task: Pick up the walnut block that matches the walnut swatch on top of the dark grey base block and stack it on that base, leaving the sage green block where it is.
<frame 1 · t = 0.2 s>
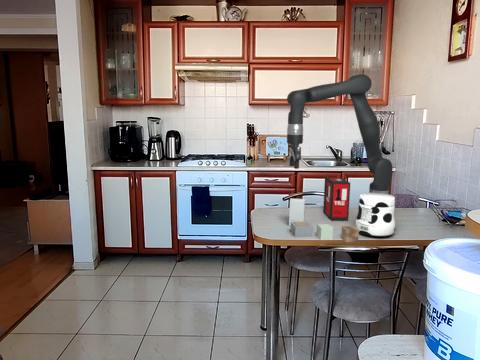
hand: (294, 167, 190), 29 cm above the table, tool pointing down, fingers open, 8 cm apart
supplement box: (296, 225, 196), on the table
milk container: (374, 234, 183), on the table
cleaning product box: (335, 217, 212), on the table
sage green block: (324, 237, 176), on the table
walnut block: (349, 240, 174), on the table
grey base block: (301, 234, 181), on the table
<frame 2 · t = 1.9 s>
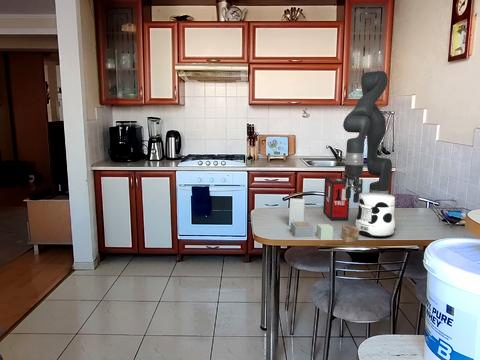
hand: (351, 200, 171), 18 cm above the table, tool pointing down, fingers open, 8 cm apart
nothing on the table moved.
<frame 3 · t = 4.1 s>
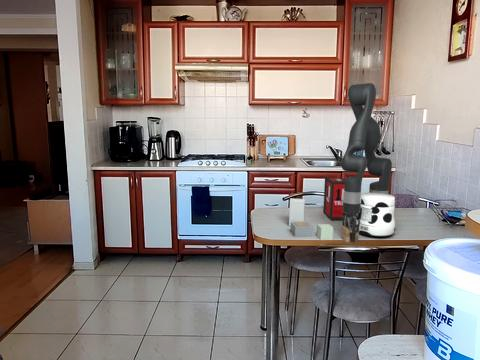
hand: (349, 238, 174), 1 cm above the table, tool pointing down, fingers closed on walnut block, 5 cm apart
walnut block: (349, 239, 174), on the table, touching gripper
everything else where it was.
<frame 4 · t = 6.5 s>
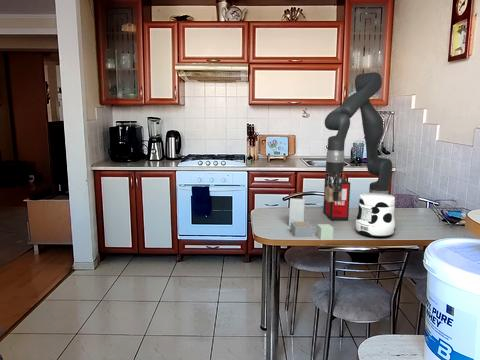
hand: (332, 198, 173), 18 cm above the table, tool pointing down, fingers closed on walnut block, 5 cm apart
walnut block: (332, 200, 173), point 17 cm above the table, touching gripper
everything else where it was.
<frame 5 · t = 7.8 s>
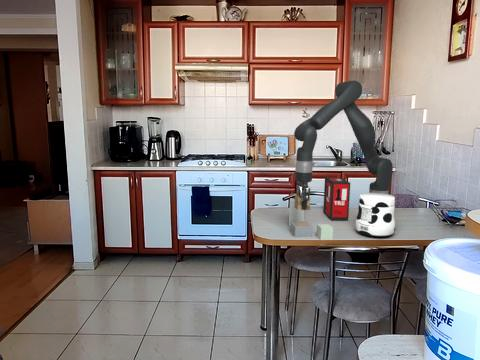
hand: (302, 207, 179), 13 cm above the table, tool pointing down, fingers closed on walnut block, 5 cm apart
walnut block: (302, 208, 179), point 12 cm above the table, touching gripper
everything else where it was.
when the fingers open (7 cm above the table, at t = 9.0 s): walnut block drops 2 cm, resting on grey base block.
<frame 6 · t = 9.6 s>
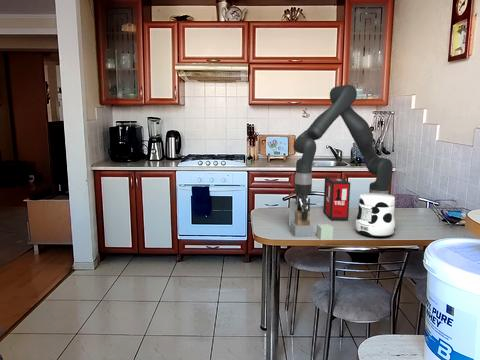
hand: (301, 217, 180), 8 cm above the table, tool pointing down, fingers open, 8 cm apart
walnut block: (301, 223, 180), point 5 cm above the table, touching grey base block
grey base block: (301, 234, 181), on the table, touching walnut block
everything else where it was.
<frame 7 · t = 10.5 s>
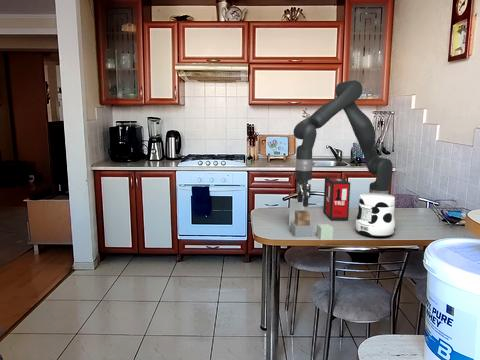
hand: (302, 204, 179), 14 cm above the table, tool pointing down, fingers open, 8 cm apart
nothing on the table moved.
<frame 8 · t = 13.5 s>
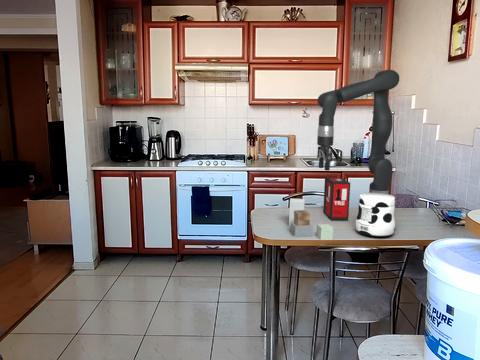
hand: (323, 169, 191), 28 cm above the table, tool pointing down, fingers open, 8 cm apart
walnut block: (301, 223, 180), point 5 cm above the table
grey base block: (301, 234, 181), on the table
everything else where it was.
at the end: walnut block 0.1 cm off-centre on the grey base block, point 5.3 cm above the grey base block's base; walnut block tilted 0°; walnut block touching nothing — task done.
